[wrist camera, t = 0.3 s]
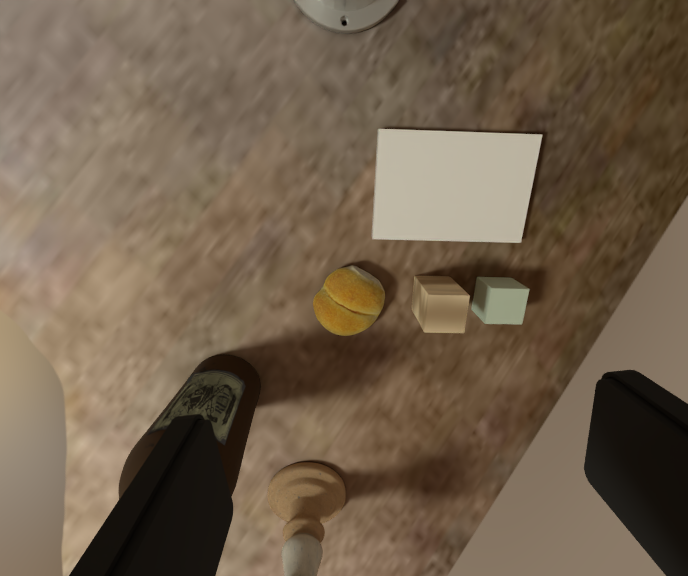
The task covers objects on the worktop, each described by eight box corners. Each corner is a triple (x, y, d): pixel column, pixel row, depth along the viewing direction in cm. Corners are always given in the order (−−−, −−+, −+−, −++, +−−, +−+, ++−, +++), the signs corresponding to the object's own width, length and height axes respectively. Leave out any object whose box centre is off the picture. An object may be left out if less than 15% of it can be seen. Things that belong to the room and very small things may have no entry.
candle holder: (355, 508, 57) (366, 678, 38) (284, 526, 58) (260, 701, 39) (331, 452, 53) (330, 611, 34) (256, 472, 54) (214, 638, 35)
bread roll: (304, 311, 46) (301, 324, 42) (340, 254, 43) (340, 263, 39) (357, 340, 47) (359, 355, 43) (394, 287, 45) (400, 298, 41)
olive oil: (260, 419, 51) (197, 638, 27) (186, 409, 50) (53, 627, 26) (269, 356, 47) (206, 544, 24) (190, 344, 46) (42, 527, 23)
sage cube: (476, 276, 45) (491, 288, 40) (511, 277, 45) (529, 289, 40) (471, 309, 46) (485, 323, 42) (504, 309, 46) (522, 324, 42)
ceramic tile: (377, 129, 38) (378, 128, 37) (537, 135, 39) (542, 134, 38) (371, 237, 42) (372, 239, 41) (516, 241, 43) (520, 242, 42)
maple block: (414, 275, 44) (428, 294, 38) (449, 276, 44) (469, 295, 38) (411, 308, 46) (424, 332, 39) (445, 308, 46) (463, 332, 39)
